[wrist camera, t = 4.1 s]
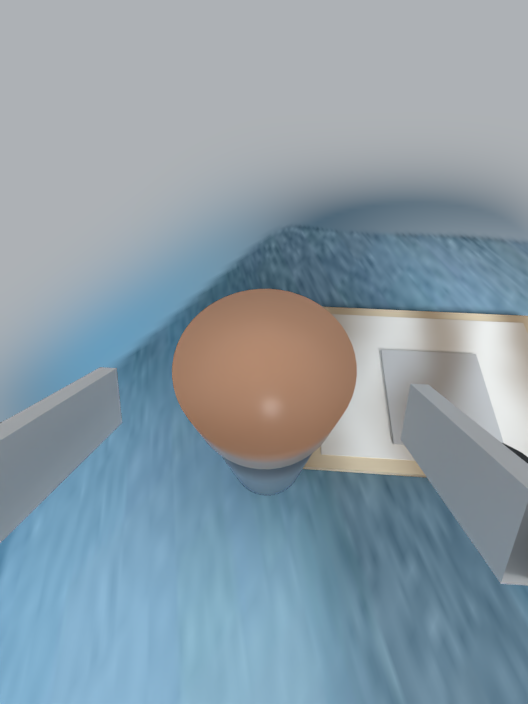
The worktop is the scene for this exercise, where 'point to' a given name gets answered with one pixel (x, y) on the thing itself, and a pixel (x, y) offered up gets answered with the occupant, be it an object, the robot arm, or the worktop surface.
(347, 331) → the wooden picture frame
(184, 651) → the worktop surface
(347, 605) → the worktop surface
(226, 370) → the marker
